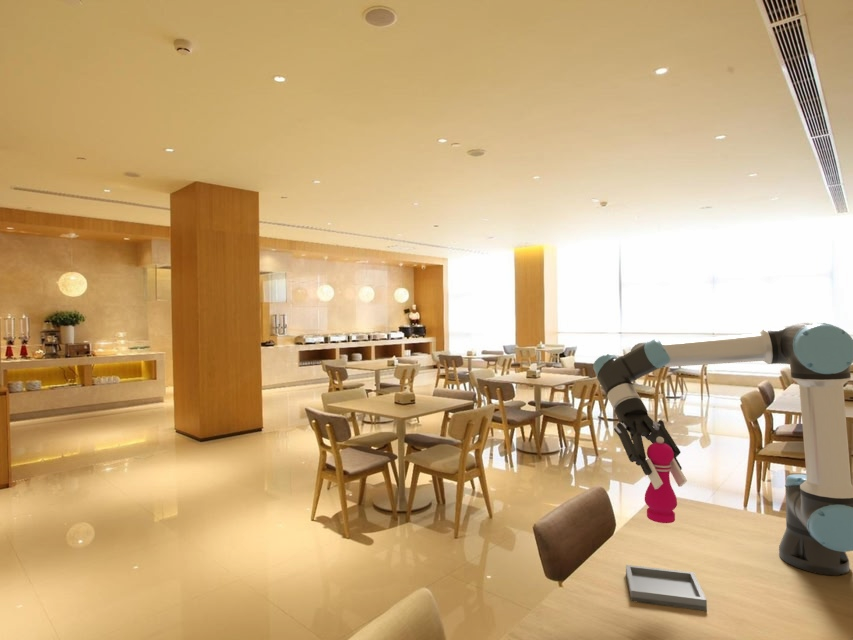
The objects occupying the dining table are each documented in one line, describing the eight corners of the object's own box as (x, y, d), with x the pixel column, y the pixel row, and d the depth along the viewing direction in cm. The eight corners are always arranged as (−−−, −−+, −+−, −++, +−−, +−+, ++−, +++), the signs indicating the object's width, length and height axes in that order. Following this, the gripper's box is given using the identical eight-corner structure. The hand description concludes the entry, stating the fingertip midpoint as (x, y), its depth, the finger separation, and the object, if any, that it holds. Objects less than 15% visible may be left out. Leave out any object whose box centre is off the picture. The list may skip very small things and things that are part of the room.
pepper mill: (681, 525, 119) (680, 440, 119) (648, 523, 121) (647, 439, 121) (672, 513, 126) (671, 433, 126) (641, 511, 128) (641, 432, 128)
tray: (694, 582, 128) (693, 572, 128) (706, 611, 115) (706, 600, 115) (625, 574, 132) (625, 564, 132) (631, 601, 120) (631, 590, 120)
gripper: (651, 411, 141) (696, 489, 125) (590, 414, 136) (629, 496, 120) (664, 394, 136) (713, 473, 120) (601, 398, 131) (643, 480, 115)
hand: (670, 484), depth 120 cm, fingers closed on pepper mill, 6 cm apart
